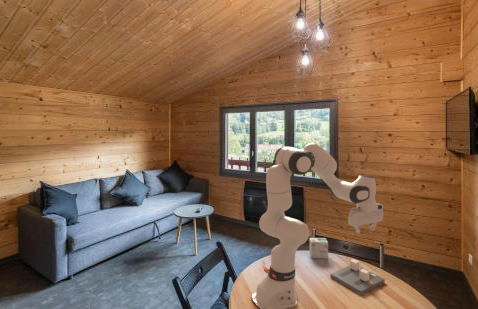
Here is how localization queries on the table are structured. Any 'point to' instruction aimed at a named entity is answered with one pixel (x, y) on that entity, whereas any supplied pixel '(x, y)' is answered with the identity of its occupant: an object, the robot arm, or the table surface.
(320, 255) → the light bulb box
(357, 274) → the panel
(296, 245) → the robot arm
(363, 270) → the block
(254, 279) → the table surface
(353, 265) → the white slider knob
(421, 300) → the table surface
